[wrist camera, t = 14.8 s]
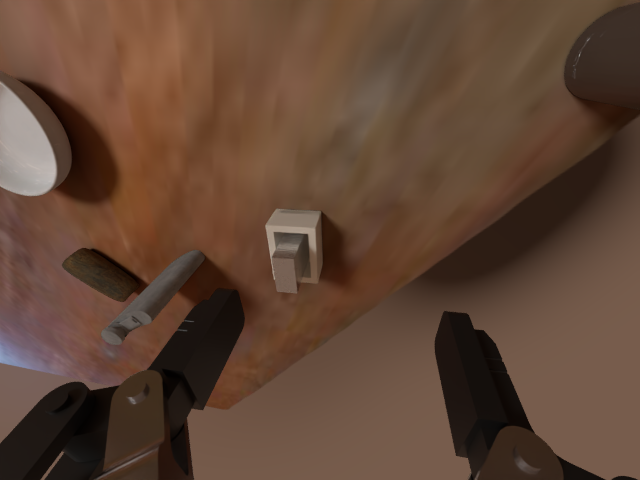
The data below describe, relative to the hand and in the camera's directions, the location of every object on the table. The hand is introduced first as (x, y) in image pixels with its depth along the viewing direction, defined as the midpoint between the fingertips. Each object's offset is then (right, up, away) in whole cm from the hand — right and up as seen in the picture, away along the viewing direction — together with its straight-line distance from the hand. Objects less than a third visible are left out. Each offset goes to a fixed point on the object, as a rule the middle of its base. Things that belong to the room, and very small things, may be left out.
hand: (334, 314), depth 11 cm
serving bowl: (-52, +23, +39) cm, 69 cm away
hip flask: (-33, -3, +52) cm, 62 cm away
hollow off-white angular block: (-4, +3, +42) cm, 43 cm away
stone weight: (-51, -4, +57) cm, 76 cm away
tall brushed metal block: (-5, +3, +41) cm, 41 cm away
